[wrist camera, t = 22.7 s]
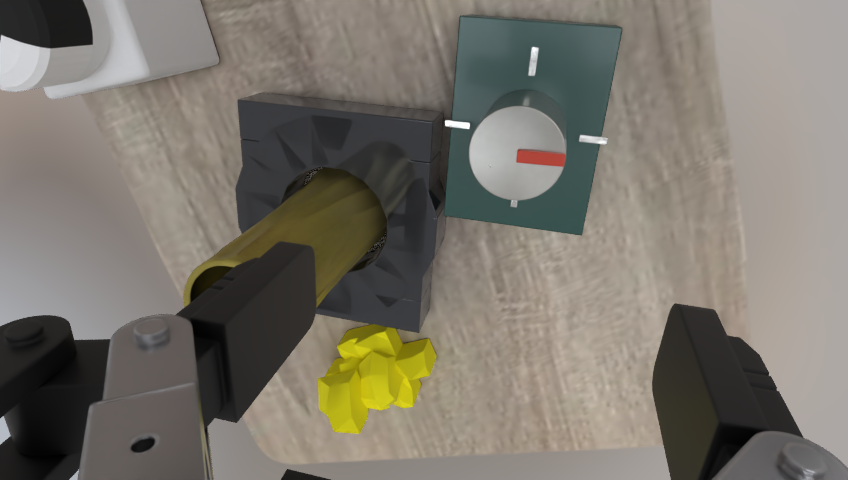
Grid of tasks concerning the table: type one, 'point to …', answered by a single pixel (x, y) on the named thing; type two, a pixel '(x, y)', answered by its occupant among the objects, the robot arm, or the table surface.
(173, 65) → the medicine bottle
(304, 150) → the square flange with hole
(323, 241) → the vase
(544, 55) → the panel
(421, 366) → the yellow faceted cluster
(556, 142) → the grey rotary knob
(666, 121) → the table surface
